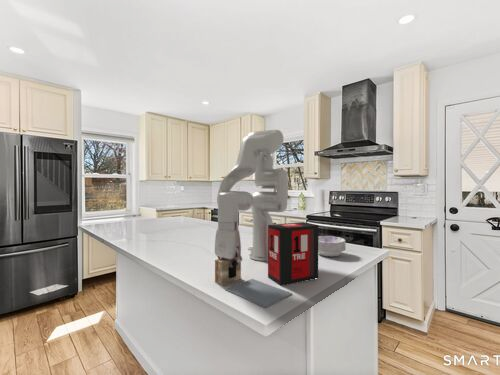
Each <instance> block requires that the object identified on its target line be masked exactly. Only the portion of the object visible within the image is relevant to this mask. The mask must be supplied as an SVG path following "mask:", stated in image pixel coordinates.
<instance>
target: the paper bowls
mask: <svg viewBox="0 0 500 375" xmlns="http://www.w3.org/2000/svg"><path fill="white" fill-rule="evenodd" d="M346 246H347V245H346V239H345V238H342V237H339V236H333V235H321V236H319V235H318V255H321V256H324V257H328V256H330V257H329V258H334V256H335V257H339V256H340V255H341V254H342V252H345V251H346Z"/></svg>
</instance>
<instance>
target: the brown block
mask: <svg viewBox="0 0 500 375" xmlns="http://www.w3.org/2000/svg"><path fill="white" fill-rule="evenodd" d="M233 261H234V260H232V262H233ZM229 267H230V264H229V259H225V258H221V259H218V258H217V259H214V282H215V283H216V284H219V285H221V286H223V285H226V284H229V283H231V282H234V281H237V280H240V279H241V278H242V261H241V262H239V263H238V265H237V266H236V277H233V278H229Z"/></svg>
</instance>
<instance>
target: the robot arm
mask: <svg viewBox="0 0 500 375" xmlns="http://www.w3.org/2000/svg"><path fill="white" fill-rule="evenodd" d="M283 143H284V133H283V132H282V131H281V130H280V129H269V130H268V129H267V130H257V131H252V132H249V133H248V134H247V136H244V138H243V139H242V140H241V143H240V147H239V151H238V155H237V160H236V163H235V166H234V167H233V168H231V170H230V171H229V172H228V173H227V174H226V175H225V176H224V178H223V179H222V180H221V182H220V184H219V188H218V191H217V192H218V193H217V196H216V203H217V229H216V232H215V240H214V254H215V256H216V257H217V259H221V258H225V259H229V264H230V267H229V278H233V277H236V266H237V265H238V263H239V262H241V263H242V261H243V257H242V255H241V254H242V246H241V244H242V243H241V236H240V235H241V234H240V230H239V211H240V212H241V211H242V212H243V211H248V210H250V209H251V211H252V212H251V213H252V214H251V215H252V245H249V247H248V248H247V250H248V251H250V254H249V255H248V256H249V259H250V260H254V261H260V262H266V261H267V262H268V225H273V218H272V216H271V214H270V213H284V212H285V211H286V210H287V207H288V201H289V200H288V195H289V175H288V173H287V171H286V170H285V169H282V168H274V159H273V156H272V154H274V153H276V152H277V151H278V150H279V149H281V147H283ZM252 175H254V184H255V186H256V188H258V189H263V190H264V189H267V190H269V189H270V190H276V191H263V190H262V191H255V192H254V193H250V192H249V191H244V190H232V188H233V187H234V186H235V185H236V184H237V183H238V182H240V181H242V180H244V179H246V178H248V177H250V176H252ZM232 260H234V261H233V262H232Z"/></svg>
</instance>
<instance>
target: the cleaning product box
mask: <svg viewBox="0 0 500 375" xmlns="http://www.w3.org/2000/svg"><path fill="white" fill-rule="evenodd" d="M318 237H319V225H318V224H314V223H309V222H303V221H301V222H300V221H299V222H291V223H290V222H288V223H277V224H276V223H274V224H273V225H268V261H267V278H268V279H269V280H271V281H273V283H275V284H276V285H279V286H281V287H282V286H287V284H288V285H292V283H293V284H297V282H298V283H301V282H302V281H303V282H307V281H306V280H308V281H311V280H310V279H314V280H316V279H315V278H318V279H319V252H318Z"/></svg>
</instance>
